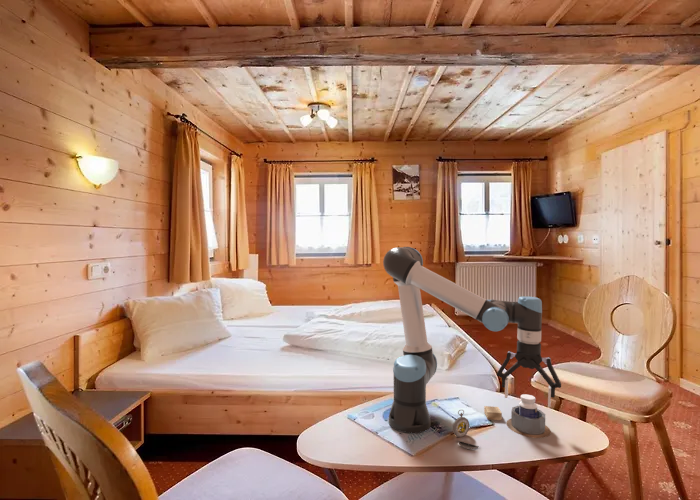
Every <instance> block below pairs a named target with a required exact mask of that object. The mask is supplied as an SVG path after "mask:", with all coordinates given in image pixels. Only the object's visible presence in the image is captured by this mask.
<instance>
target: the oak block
mask: <svg viewBox="0 0 700 500" xmlns="http://www.w3.org/2000/svg"><path fill="white" fill-rule="evenodd" d="M483 408H484V409H483V410H484V412H483V413H484V416H485V418H486V419H487V420H489V421H491V420H492V421H494V420H495V421H502V419H503V417H502V416H503V415H502V414H503V413H502V411H501V410H500V408H499V406H491V405H488V406H487V405H484V407H483Z"/></svg>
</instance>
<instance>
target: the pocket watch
mask: <svg viewBox="0 0 700 500" xmlns="http://www.w3.org/2000/svg"><path fill="white" fill-rule="evenodd" d="M457 414H458V415H459V417H458V418H456V419H455V421H454V422H453V425H452V433H453V434H454V436H455V437H457V438H463V437H465V436H466V435H467V434H468V432H469V430H470V421H469V419H468V418H467V417H465V416H463V415H465V410H464V409H459V410H458V411H457ZM457 443H458V445H459V446H460V447H461V448H463V449H465V450H466V449H467V450H476V449H478V448H479V445H475V444H471V443H468V442H465V441H460V440H458V441H457Z"/></svg>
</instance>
